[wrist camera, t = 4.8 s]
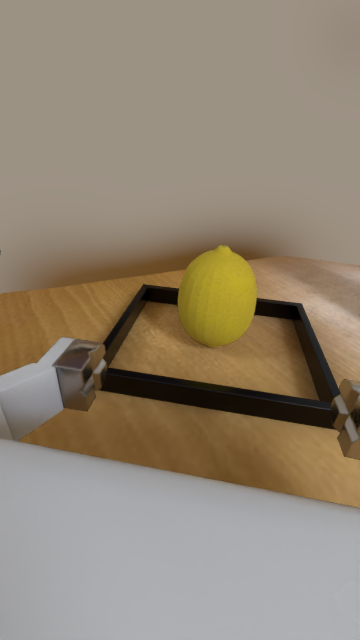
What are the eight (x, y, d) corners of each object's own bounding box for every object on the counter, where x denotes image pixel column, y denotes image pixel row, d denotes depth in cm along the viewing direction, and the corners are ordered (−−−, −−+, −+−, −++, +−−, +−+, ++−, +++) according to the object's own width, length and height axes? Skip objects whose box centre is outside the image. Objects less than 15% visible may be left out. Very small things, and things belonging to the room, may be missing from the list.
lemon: (232, 379, 20) (254, 267, 16) (162, 352, 22) (165, 247, 18) (254, 339, 24) (275, 243, 20) (193, 321, 26) (202, 230, 22)
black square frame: (86, 388, 18) (83, 370, 17) (143, 297, 29) (143, 284, 29) (340, 430, 16) (349, 412, 16) (297, 317, 28) (301, 303, 27)
